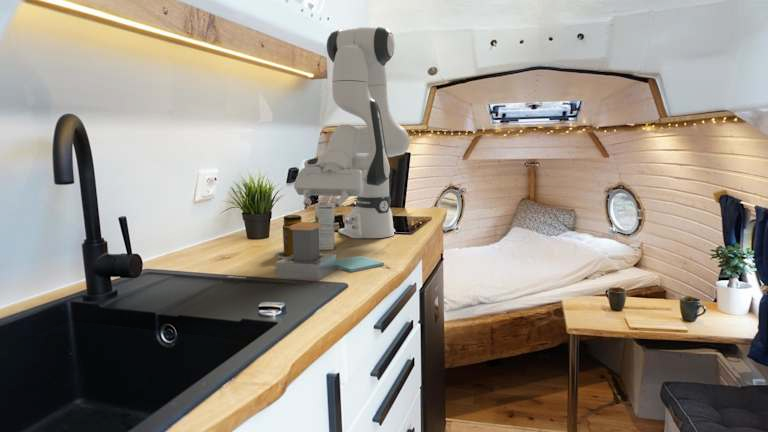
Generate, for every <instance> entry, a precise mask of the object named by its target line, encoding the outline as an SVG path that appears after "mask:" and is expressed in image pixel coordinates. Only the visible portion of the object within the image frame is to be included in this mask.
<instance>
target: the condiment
mask: <svg viewBox="0 0 768 432" xmlns="http://www.w3.org/2000/svg"><path fill="white" fill-rule="evenodd" d="M299 222H303V221H302V216H301V215H299V214H290V215H289V214H288V215H285V216H283V226H282V235H283V236H282V238H283V239H282V241H283V242H282V243H283V252H275V255H276V256H277V258H278V259H284V258H286V257H288V256H290V255H292V254H293V231H292V230H290V226H291V225H294V224H297V223H299Z"/></svg>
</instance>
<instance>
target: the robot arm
mask: <svg viewBox="0 0 768 432" xmlns="http://www.w3.org/2000/svg"><path fill="white" fill-rule="evenodd" d="M395 46H396V45H395V39H394V35H393V33H392V31H391V30H390V29H389V28H386V27H382V26H380V27H379V26H378V27H365V26H364V27H358V28H350V29H349V28H348V29H345V30H344V29H343V30H342V29H339V30H334V31H333V32H331V33H330V34H329V36H328V37H327V40H326V51H327V55H328V58H329V59H330V60H331V62H332V63H333V67H332V78H331V79H332V80H331V81H332V82H331V86H332V87H331V88H332V89H331V90H332V91H331V92H332V99H333V101H334V102H335V104H336V106H338V107H339V109H341V110H342V111H344V112H346V113H349V114H351V115H354V116H356V117H358V118H359V119H361V120H363V121H364V122H365V124H366V125H350V124H340V125H338V126H336V128H334V130H333V131H332V134H331V136H330V138H329V141H328V142H327V145H326V147H327V148H326V151H324V153H323V154H322V155H320V156H317V157H313V158H309V159H306V160H305V161H304V163H303V166H304V167H303V168H301V170H300V171H299V172H298V174H297V176H296V179H295V181H294V183H293V187H294V190H295V191H296V193H297V194H298V195H299V196H304V199H303V202H302V203H303V205H304V206H305V207H310V206H311V204H312V202H313V201H312V200H311V198H310V197H311V196H326V197H327V196H332V197H334V196H335V197H336V196H337V197H339V198H335V201H334V206H335V207H336V208H342V206H343V203H345V202H346V201H347V200H348V199H349V197H354V202H355V207H353V209H352V210H351V211H350V212H349V213H348V214H347V215H346V216H345V218H344V228H343V227H342V228H339V229H338V231H337V232H338V233H340V234H342V235H344V236H347V237H349V238H352V239H382V238H389V237H393V236H394V235H395V233H396V229H395V228H394V221H393V212H392V209H391V208H390V206H391V201H392V199H391V196H390V174H391V173H390V172H391V166H390V163H389V158H393V157H396V156H397V157H398V156H401V155H404V154H405V153H406V152H407V151H408V149H409V146H410V135H409V133H408V131H407V130H406V129H405V127H403V126H402V125H400V124H399V123H398V122H397V121H396V119H395V118H394V116H393V115H392V112H391V110H390V106H389V100H388V98H389V97H388V86H387V84H388V83H387V82H388V81H387V80H388V79H387V72H386V64H387V62H389V61H390V60H391V59H392V57H393V55H394V51H395ZM394 232H395V233H394Z"/></svg>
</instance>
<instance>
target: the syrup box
mask: <svg viewBox="0 0 768 432" xmlns="http://www.w3.org/2000/svg"><path fill="white" fill-rule="evenodd" d="M314 206H315V207H314V217H315V218H314V219H315V222H314V223H321V227H319V251H328V250H329V251H331V250H334V249H335V245H336V243H335V242H336V239H335V238H336V237H335V236H336V235H335V233H336V231H335V228H336V227H335V226H336V225H335V202H326V201H325V202H317V203H316V204H315V205H314Z"/></svg>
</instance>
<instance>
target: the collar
mask: <svg viewBox="0 0 768 432" xmlns="http://www.w3.org/2000/svg"><path fill="white" fill-rule="evenodd" d="M336 260H337V254H334V253H320V258H319V259H317V260H315V261H314V262H307V261H294V254H292V255H290V256H288V257H286V258H281V259H280V260H278V261H275V269H276V278H282V279H293V280H294V279H295V280H306V281H307V280H309V281H320V280H321V279H323V278H325V277H326V276H328V275H329V274H331V273H333V272H334V271H336V270H337V267H336Z"/></svg>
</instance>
